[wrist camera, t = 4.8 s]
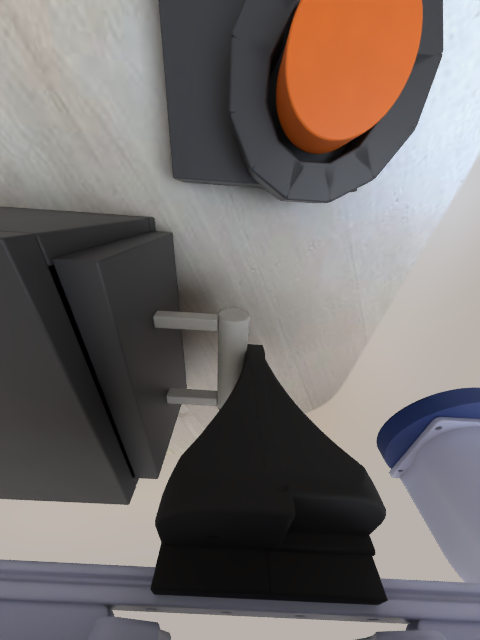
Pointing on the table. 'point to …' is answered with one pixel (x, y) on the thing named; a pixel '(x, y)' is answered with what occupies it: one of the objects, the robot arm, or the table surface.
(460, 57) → the table surface
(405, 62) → the button
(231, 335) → the drawer
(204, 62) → the control block
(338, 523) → the robot arm
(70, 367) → the box
